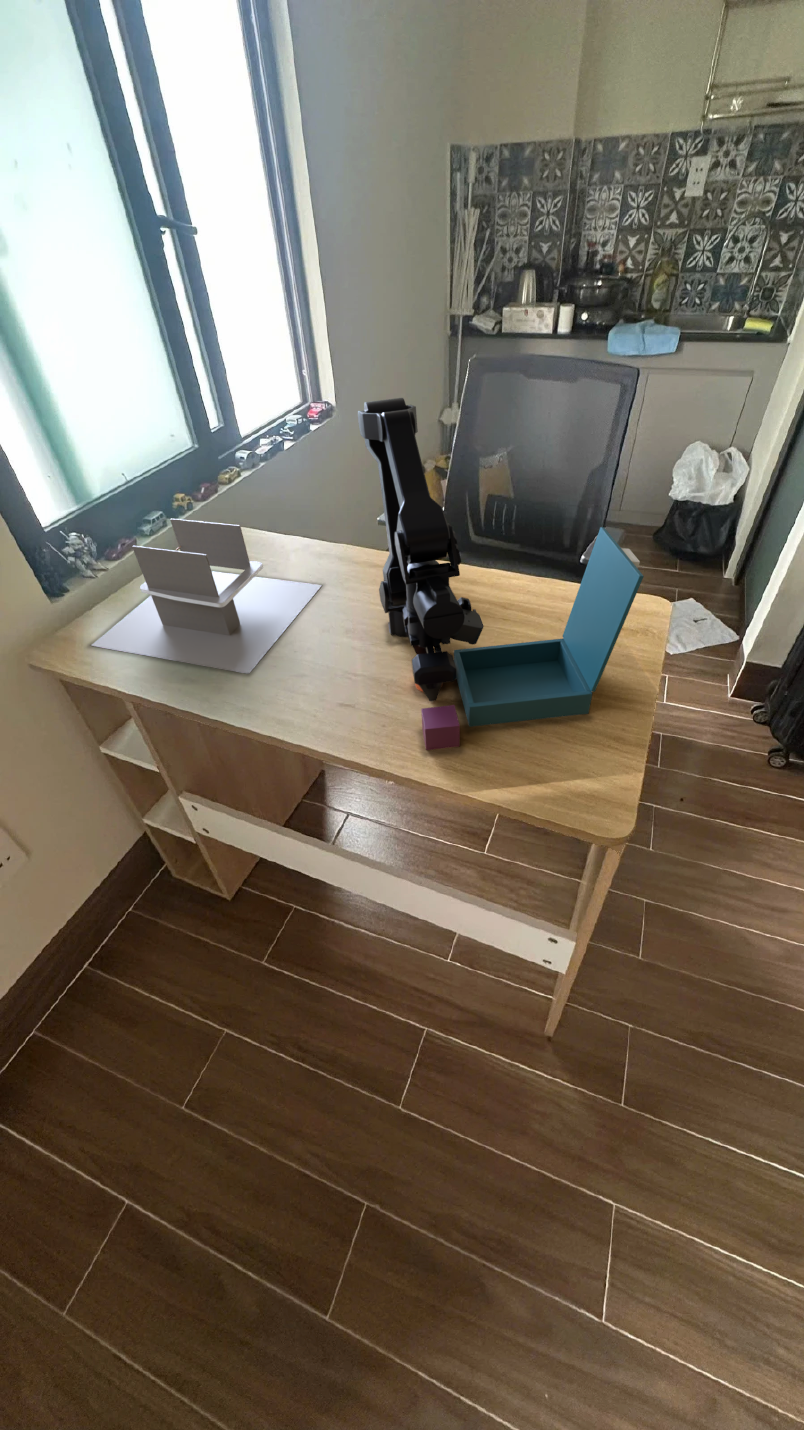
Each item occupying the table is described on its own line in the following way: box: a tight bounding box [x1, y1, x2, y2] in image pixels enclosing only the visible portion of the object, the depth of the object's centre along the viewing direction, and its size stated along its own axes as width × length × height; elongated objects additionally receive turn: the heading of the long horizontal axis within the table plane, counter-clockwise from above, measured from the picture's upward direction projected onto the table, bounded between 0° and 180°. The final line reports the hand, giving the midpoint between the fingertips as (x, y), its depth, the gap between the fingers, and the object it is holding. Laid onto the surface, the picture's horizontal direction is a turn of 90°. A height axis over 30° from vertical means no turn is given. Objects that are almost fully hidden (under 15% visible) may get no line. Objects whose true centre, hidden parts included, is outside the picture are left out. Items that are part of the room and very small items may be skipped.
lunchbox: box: [453, 637, 593, 728], centre depth 96 cm, size 19×15×5 cm
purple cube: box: [420, 704, 461, 751], centre depth 89 cm, size 5×5×5 cm
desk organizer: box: [90, 518, 322, 675], centre depth 115 cm, size 31×35×17 cm
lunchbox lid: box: [562, 526, 644, 693], centre depth 88 cm, size 19×15×3 cm
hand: (429, 682), depth 99 cm, fingers open, 9 cm apart
